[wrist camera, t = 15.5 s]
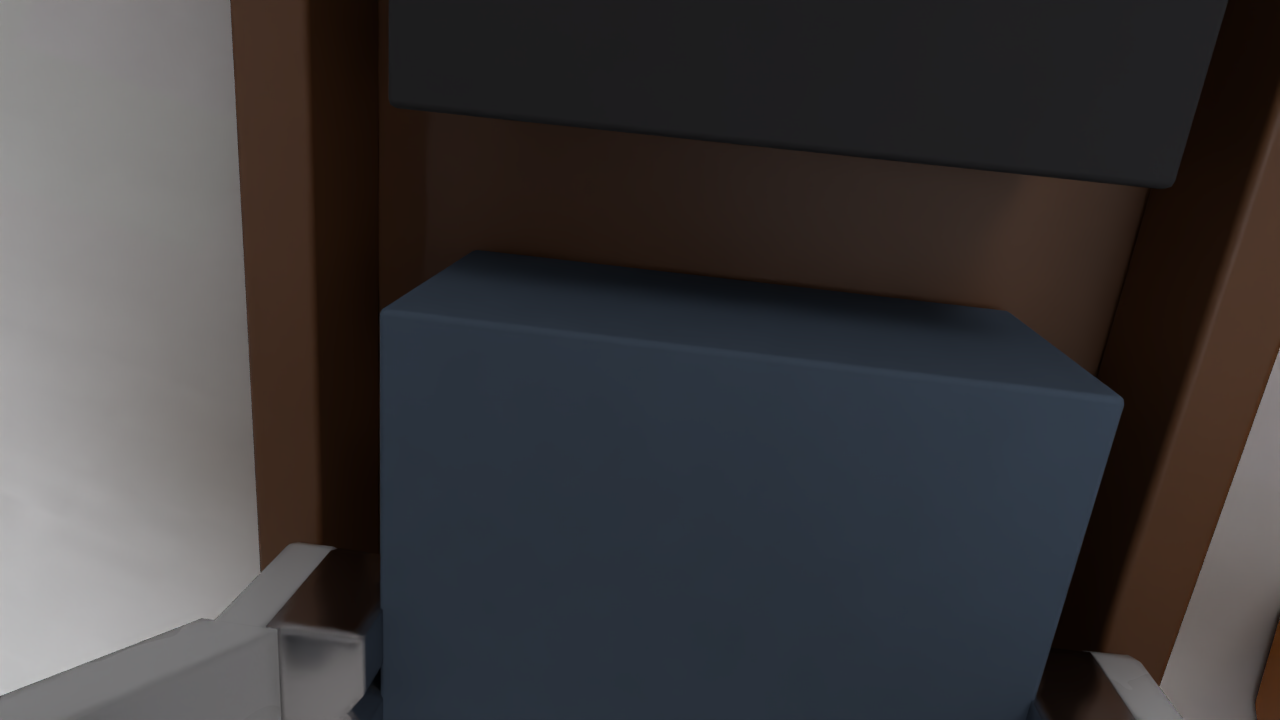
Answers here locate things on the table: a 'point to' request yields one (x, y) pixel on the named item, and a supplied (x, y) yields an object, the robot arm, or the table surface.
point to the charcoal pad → (833, 75)
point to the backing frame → (762, 273)
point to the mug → (1270, 684)
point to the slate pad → (721, 499)
